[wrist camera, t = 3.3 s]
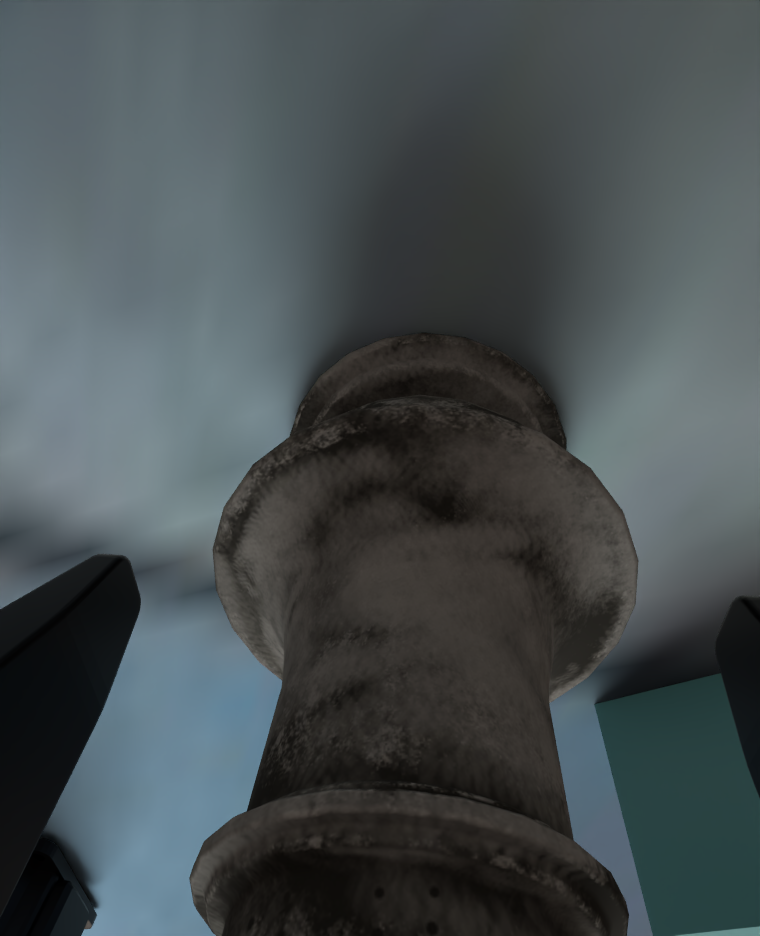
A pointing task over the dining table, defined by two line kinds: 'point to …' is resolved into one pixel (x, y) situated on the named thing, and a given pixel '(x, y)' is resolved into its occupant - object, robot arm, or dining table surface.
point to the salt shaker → (417, 656)
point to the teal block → (687, 807)
